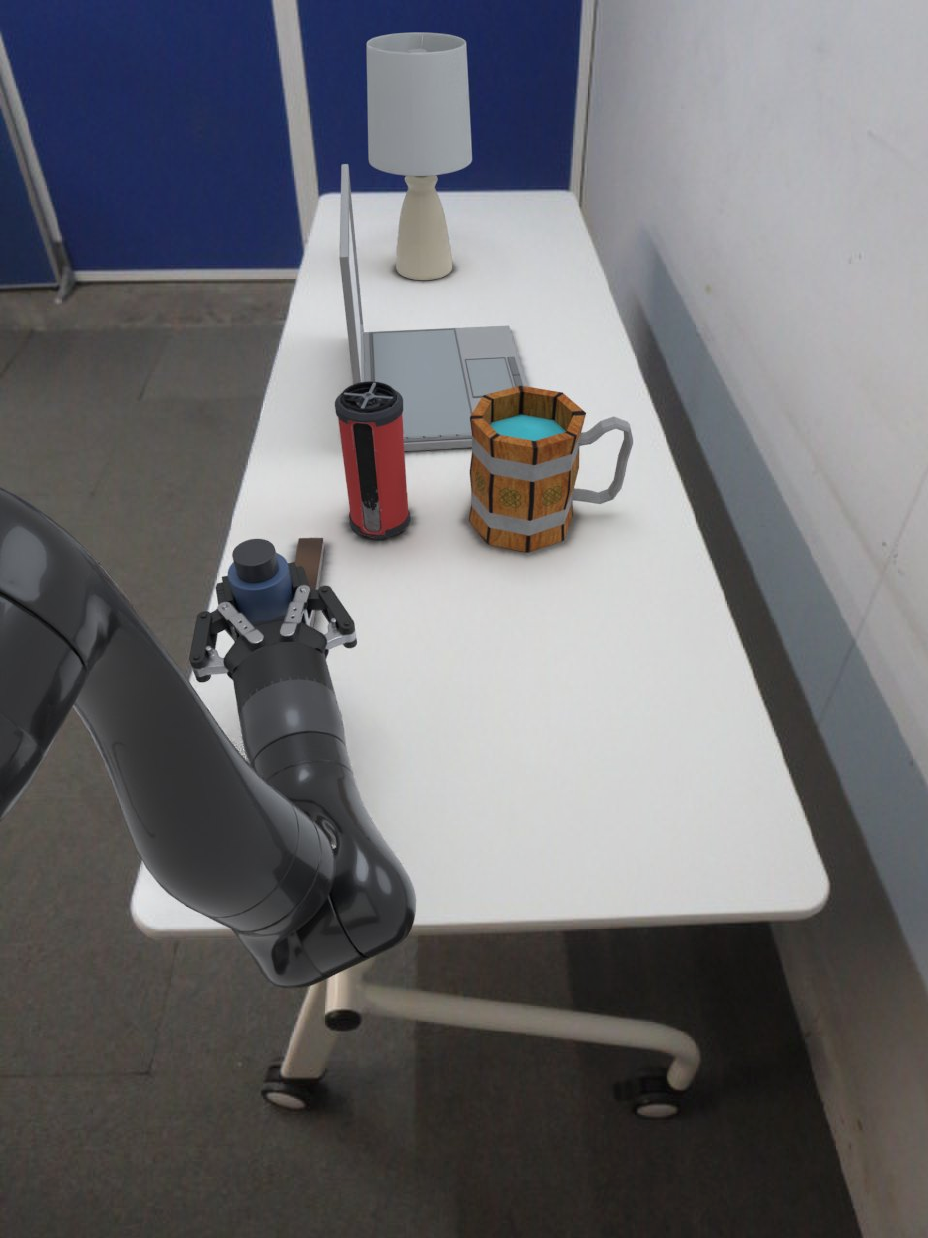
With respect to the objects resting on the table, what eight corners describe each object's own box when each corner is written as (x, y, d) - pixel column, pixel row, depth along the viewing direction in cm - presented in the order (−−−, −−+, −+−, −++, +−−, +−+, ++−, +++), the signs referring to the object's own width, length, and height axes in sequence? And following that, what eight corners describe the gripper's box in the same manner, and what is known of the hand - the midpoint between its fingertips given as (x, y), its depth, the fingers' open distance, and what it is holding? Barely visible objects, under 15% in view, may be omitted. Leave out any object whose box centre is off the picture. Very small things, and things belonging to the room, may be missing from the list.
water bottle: (282, 676, 74) (257, 579, 65) (238, 656, 76) (209, 559, 67) (315, 640, 77) (297, 543, 69) (273, 622, 79) (249, 525, 70)
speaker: (342, 537, 100) (325, 409, 87) (359, 500, 105) (344, 374, 93) (403, 543, 99) (394, 415, 86) (416, 506, 105) (409, 380, 92)
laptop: (542, 444, 115) (558, 248, 95) (359, 454, 113) (337, 257, 94) (508, 332, 139) (516, 158, 120) (357, 339, 137) (340, 164, 118)
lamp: (475, 252, 164) (477, 31, 138) (467, 291, 151) (467, 55, 125) (385, 249, 165) (370, 29, 139) (369, 287, 152) (349, 53, 126)
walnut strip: (309, 655, 86) (307, 645, 85) (281, 655, 86) (278, 646, 85) (324, 546, 99) (323, 537, 98) (300, 547, 99) (298, 537, 98)
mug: (472, 555, 98) (474, 450, 87) (464, 489, 107) (464, 387, 96) (631, 547, 99) (652, 443, 88) (609, 483, 108) (625, 381, 98)
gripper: (376, 661, 61) (332, 528, 72) (182, 708, 57) (167, 561, 69) (384, 722, 66) (341, 589, 77) (206, 768, 63) (189, 622, 74)
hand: (259, 576), depth 73 cm, fingers closed on water bottle, 5 cm apart
